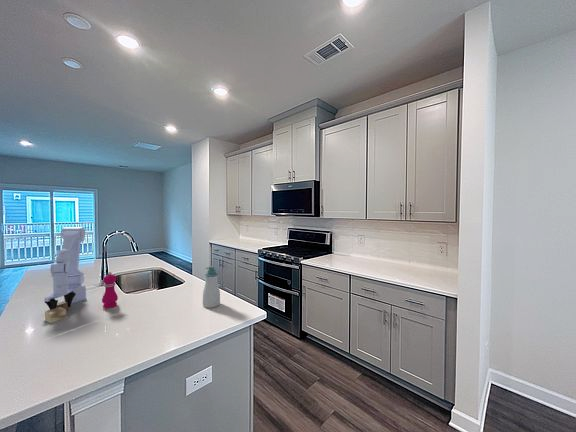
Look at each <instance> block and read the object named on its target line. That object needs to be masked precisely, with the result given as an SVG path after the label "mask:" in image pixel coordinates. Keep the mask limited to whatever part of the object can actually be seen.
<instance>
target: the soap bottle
mask: <svg viewBox="0 0 576 432" xmlns="http://www.w3.org/2000/svg"><path fill="white" fill-rule="evenodd" d="M205 269H206V270H207V272H206V273H205V274H204V276H205V283H204V287H203V290H202V306H203V308H207V309H212V308H216V307H219V306H220V303H221V291H220V287H219V281H218V275H219V273H218V272H217V271H216V269H215V266H214V265H210V266H208V267H205Z"/></svg>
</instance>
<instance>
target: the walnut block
mask: <svg viewBox="0 0 576 432" xmlns="http://www.w3.org/2000/svg"><path fill="white" fill-rule="evenodd" d="M62 301H63V302H61V301H58V302H57V306H56V308H58V307H62V308H64V309H66V312H68V311H69V309H68V308H69V307H68V303H67V302H65V301H64V300H62Z"/></svg>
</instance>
